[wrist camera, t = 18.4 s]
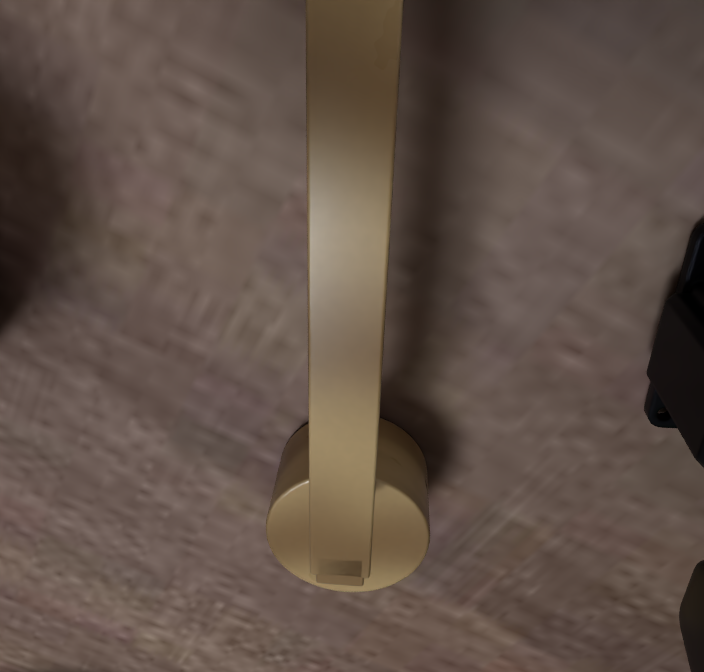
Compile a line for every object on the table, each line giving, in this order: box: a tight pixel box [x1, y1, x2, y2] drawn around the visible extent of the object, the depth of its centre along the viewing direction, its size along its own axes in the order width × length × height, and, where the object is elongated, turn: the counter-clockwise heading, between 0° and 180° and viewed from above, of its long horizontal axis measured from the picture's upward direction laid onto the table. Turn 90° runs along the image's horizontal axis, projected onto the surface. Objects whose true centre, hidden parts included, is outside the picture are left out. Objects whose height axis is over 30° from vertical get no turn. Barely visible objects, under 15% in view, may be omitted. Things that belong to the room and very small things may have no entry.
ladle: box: [266, 0, 430, 592], centre depth 17 cm, size 18×5×6 cm, turn 178°
